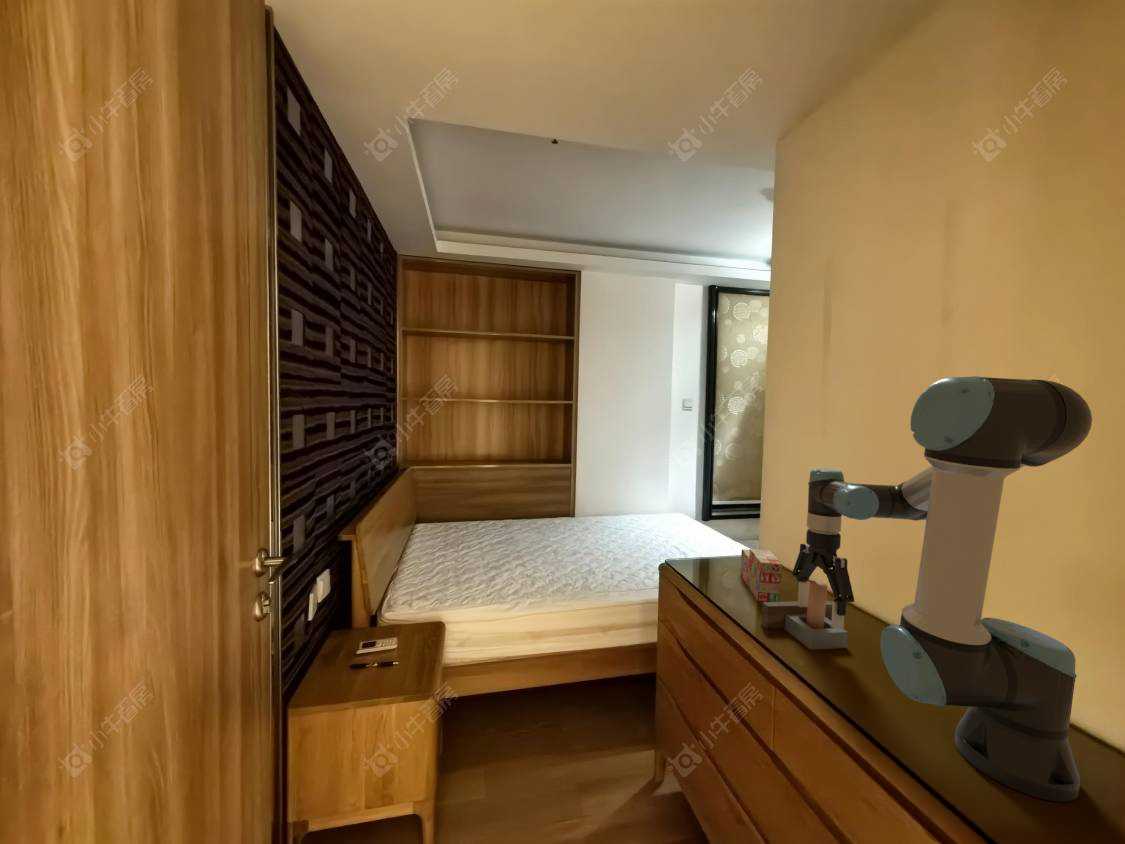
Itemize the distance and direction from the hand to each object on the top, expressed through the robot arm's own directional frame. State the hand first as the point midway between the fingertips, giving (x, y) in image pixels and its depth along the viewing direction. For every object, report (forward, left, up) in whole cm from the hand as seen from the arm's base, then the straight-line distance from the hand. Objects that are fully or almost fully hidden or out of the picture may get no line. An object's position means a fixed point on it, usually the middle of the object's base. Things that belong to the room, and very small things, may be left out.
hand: (819, 616), depth 118 cm
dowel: (+1, +1, -6) cm, 6 cm away
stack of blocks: (+23, +22, -7) cm, 33 cm away
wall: (+5, +6, -6) cm, 10 cm away
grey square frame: (0, +1, -6) cm, 6 cm away
